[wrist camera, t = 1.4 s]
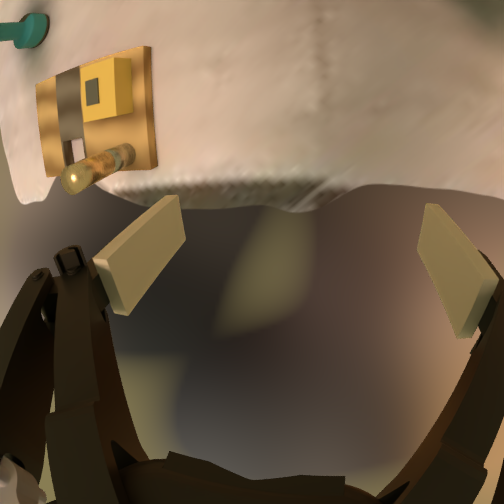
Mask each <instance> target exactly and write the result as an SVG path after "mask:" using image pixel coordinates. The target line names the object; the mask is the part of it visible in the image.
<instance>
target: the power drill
mask: <svg viewBox="0 0 504 504" xmlns="http://www.w3.org/2000/svg"><path fill="white" fill-rule="evenodd" d="M48 27H49V19H48V16H47V15H46V14H39V13H29V14H26V15H25V16H24V17H23V18H22V19H21V20H20V21H19V22H11V23H0V41H9V40H13V41H14V46H15V47H16V48H17V49H22V48H34V47H36V46H38V45H39V44H40V43H41V42H42V41H43V39H44V38H45V36H46V34H47V31H48Z"/></svg>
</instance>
